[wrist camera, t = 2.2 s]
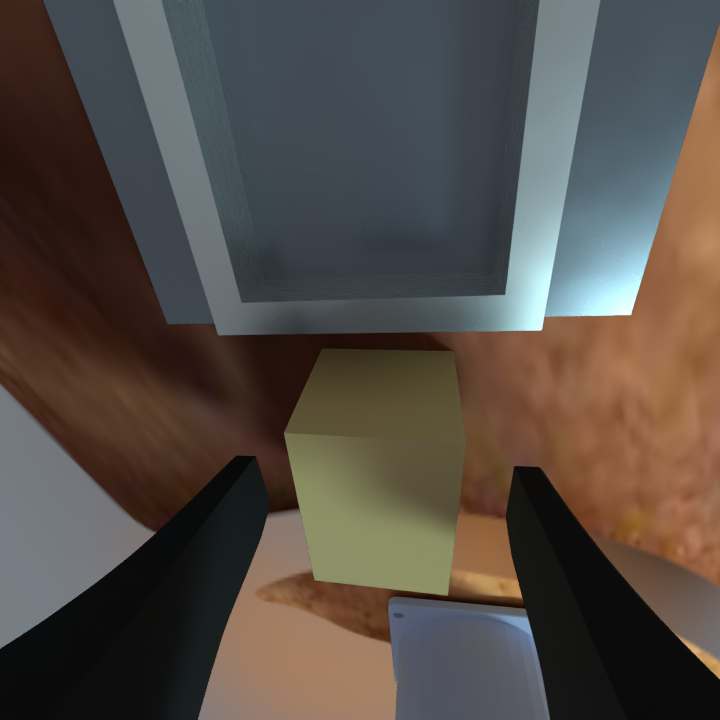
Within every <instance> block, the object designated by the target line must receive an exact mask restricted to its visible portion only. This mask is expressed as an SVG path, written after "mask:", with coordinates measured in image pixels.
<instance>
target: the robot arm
mask: <svg viewBox="0 0 720 720" xmlns="http://www.w3.org/2000/svg"><path fill="white" fill-rule="evenodd" d="M269 506H270V499H269V496H268V493H267V490H266V487H265V484H264V481H263V477H262V474H261V471H260V468H259V465H258V462H257V459H256V456H235V457H234V458H233V459H232V460H231V461H230V462H229V463H228V464H227V465H226V466H225V467H224V468H223V469H222V470H221V471H220V472H219V473H218V474H217V475H216V476H215V477H214V478H213V479H212V480H211V481H210V482H209V483H208V484H207V485H206V486H205V487H204V488H203V489H202V490H201V491H200V492H199V493H198V494H197V495H196V496H195V497H194V498H193V499H192V500H191V501H190V502H189V503H188V504H187V505H186V506H185V507H184V508H183V509H182V510H181V511H179V512H178V513H177V514H176V515H175V516H174V517H173V518H172V519H171V520H170V521H169V522H168V523H167V524H166V525H164V526H163V527H162V528H161V529H160V530H159V531H158V532H157V533H156V534H154V535H153V536H152V537H151V538H150V539H149V540H148V541H147V542H146V543H144V544H143V545H142V546H141V547H140V548H139V549H138V550H136V551H135V552H134V553H133V554H132V555H131V556H129V557H128V558H127V559H126V560H124V562H122V563H121V564H120V565H118V566H117V567H116V568H114V569H113V570H112V571H111V572H109V573H108V574H107V575H106V576H104V577H103V578H102V579H100V580H99V581H98V582H97V583H95V584H94V585H93V586H91V587H90V588H88V589H87V590H86V591H84V592H83V593H82V594H80V595H79V596H77V597H76V598H75V599H73V600H72V601H70V602H69V603H68V604H66V605H65V606H63V607H62V608H61V609H59V610H58V611H56V612H55V613H54V614H52V615H51V616H49V617H48V618H47V619H45V620H44V621H42V622H41V623H39V624H38V625H36V626H35V627H33V628H32V629H30V630H29V631H27V632H26V633H24V634H23V635H21V636H20V637H18V638H16V639H15V640H13V641H12V642H10V643H9V644H7V645H5V646H4V647H2V648H1V649H0V720H198V717H199V713H200V710H201V706H202V703H203V699H204V696H205V692H206V689H207V685H208V681H209V678H210V675H211V671H212V668H213V665H214V662H215V658H216V655H217V652H218V649H219V645H220V642H221V639H222V635H223V633H224V630H225V627H226V625H227V622H228V619H229V616H230V614H231V611H232V609H233V606H234V604H235V601H236V599H237V597H238V594H239V591H240V589H241V587H242V584H243V582H244V579H245V577H246V574H247V572H248V569H249V567H250V564H251V562H252V559H253V557H254V554H255V552H256V549H257V546H258V544H259V541H260V539H261V536H262V532H263V529H264V525H265V522H266V518H267V514H268V510H269ZM506 522H507V529H508V536H509V542H510V548H511V555H512V559H513V563H514V567H515V571H516V574H517V578H518V582H519V586H520V590H521V594H522V597H523V601H524V605H525V609H523V608H513V607H502V606H492V605H481V604H471V603H460V602H450V601H440V600H429V599H419V598H408V597H392V598H390V599H389V601H388V614H389V624H390V635H391V645H392V655H393V667H394V676H395V683H396V684H397V697H396V719H395V720H720V679H719V678H718V677H717V676H716V675H715V674H714V673H713V672H712V671H711V670H710V669H709V668H708V667H707V666H706V665H705V664H704V663H703V662H702V661H701V660H700V659H699V658H698V657H697V656H696V655H695V654H694V653H693V652H692V651H691V650H690V649H689V648H688V647H687V646H686V645H685V644H684V643H683V642H682V641H681V640H680V639H679V638H678V637H677V636H676V635H675V634H674V633H673V632H672V631H671V630H670V629H669V627H668V626H667V625H666V624H665V623H664V622H663V621H662V620H661V619H660V618H659V617H658V616H657V615H656V614H655V613H654V611H653V610H652V609H651V608H650V607H649V606H648V605H647V604H646V603H645V602H644V601H643V599H642V598H641V597H640V596H639V595H638V594H637V593H636V592H635V590H634V589H633V588H632V587H631V586H630V585H629V583H628V582H627V581H626V580H625V579H624V577H622V575H621V574H620V573H619V572H618V570H617V569H616V568H615V567H614V566H613V564H612V563H611V562H610V561H609V560H608V558H606V556H605V555H604V554H603V552H602V551H601V550H600V548H599V547H598V546H597V545H596V543H595V542H594V541H593V539H592V538H591V537H590V536H589V534H588V533H587V532H586V531H585V529H584V528H583V527H582V525H581V524H580V523H579V521H578V520H577V519H576V517H575V516H574V515H573V513H572V512H571V511H570V509H569V508H568V506H567V505H566V504H565V502H564V501H563V499H562V498H561V497H560V495H559V494H558V492H557V491H556V489H555V488H554V487H553V485H552V484H551V482H550V481H549V479H548V478H547V476H546V475H545V473H544V472H543V470H542V469H541V468H539V467H523V466H514V471H513V477H512V483H511V489H510V494H509V500H508V506H507V511H506Z"/></svg>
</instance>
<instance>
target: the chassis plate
mask: <svg viewBox="0 0 720 720" xmlns="http://www.w3.org/2000/svg"><path fill="white" fill-rule="evenodd" d="M43 1H44V4H45V6H46V9H47V12H48V14H49V17H50V19H51V22H52V25H53V27H54V30H55V32H56V35H57V38H58V40H59V43H60V45H61V48H62V51H63V53H64V56H65V58H66V61H67V64H68V66H69V69H70V71H71V74H72V77H73V79H74V82H75V84H76V87H77V90H78V92H79V95H80V97H81V100H82V103H83V105H84V108H85V110H86V113H87V116H88V118H89V121H90V123H91V126H92V129H93V131H94V134H95V136H96V139H97V142H98V144H99V147H100V149H101V152H102V155H103V157H104V160H105V162H106V165H107V168H108V170H109V173H110V175H111V178H112V181H113V183H114V186H115V188H116V191H117V194H118V196H119V199H120V201H121V204H122V207H123V209H124V212H125V214H126V217H127V220H128V222H129V225H130V227H131V230H132V233H133V235H134V238H135V240H136V243H137V246H138V248H139V251H140V253H141V256H142V259H143V261H144V264H145V266H146V269H147V272H148V274H149V277H150V280H151V282H152V285H153V287H154V290H155V293H156V295H157V298H158V300H159V303H160V306H161V308H162V311H163V313H164V316H165V319H166V321H167V324H205V323H215V326H216V330H217V333H218V335H267V334H334V333H400V332H467V331H533V330H542V326H543V320H544V317H547V316H596V315H631V312H632V309H633V305H634V302H635V299H636V296H637V292H638V289H639V286H640V282H641V279H642V276H643V273H644V269H645V266H646V263H647V259H648V256H649V253H650V250H651V246H652V243H653V240H654V237H655V233H656V230H657V227H658V223H659V220H660V217H661V214H662V210H663V207H664V204H665V200H666V197H667V194H668V191H669V187H670V184H671V181H672V177H673V174H674V171H675V168H676V164H677V161H678V158H679V155H680V151H681V148H682V145H683V141H684V138H685V135H686V132H687V128H688V125H689V122H690V118H691V115H692V112H693V109H694V105H695V102H696V99H697V95H698V92H699V89H700V86H701V82H702V79H703V76H704V72H705V69H706V66H707V63H708V59H709V56H710V53H711V50H712V46H713V43H714V40H715V36H716V33H717V30H718V27H719V23H720V0H43Z"/></svg>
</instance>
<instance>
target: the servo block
mask: <svg viewBox="0 0 720 720" xmlns="http://www.w3.org/2000/svg"><path fill="white" fill-rule="evenodd" d="M284 436H285V441H286V446H287V450H288V455H289V460H290V465H291V470H292V474H293V479H294V484H295V489H296V494H297V499H298V503H299V508H300V513H301V518H302V523H303V527H304V532H305V537H306V541H307V547H308V551H309V556H310V561H311V566H312V571H313V575H314V580H316V581H325V582H334V583H342V584H351V585H360V586H369V587H377V588H386V589H395V590H404V591H412V592H421V593H430V594H439V595H447V596H448V589H449V581H450V573H451V565H452V557H453V549H454V541H455V532H456V524H457V516H458V508H459V500H460V492H461V484H462V476H463V468H464V460H465V452H466V444H467V443H466V436H465V429H464V421H463V414H462V407H461V400H460V392H459V385H458V378H457V371H456V363H455V356H454V351H422V350H375V349H328V348H322V349H321V351H320V354H319V356H318V358H317V360H316V363H315V365H314V367H313V369H312V372H311V374H310V376H309V378H308V380H307V383H306V385H305V387H304V389H303V392H302V394H301V396H300V398H299V400H298V403H297V405H296V407H295V409H294V412H293V414H292V416H291V418H290V420H289V423H288V425H287V427H286V429H285V432H284Z"/></svg>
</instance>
